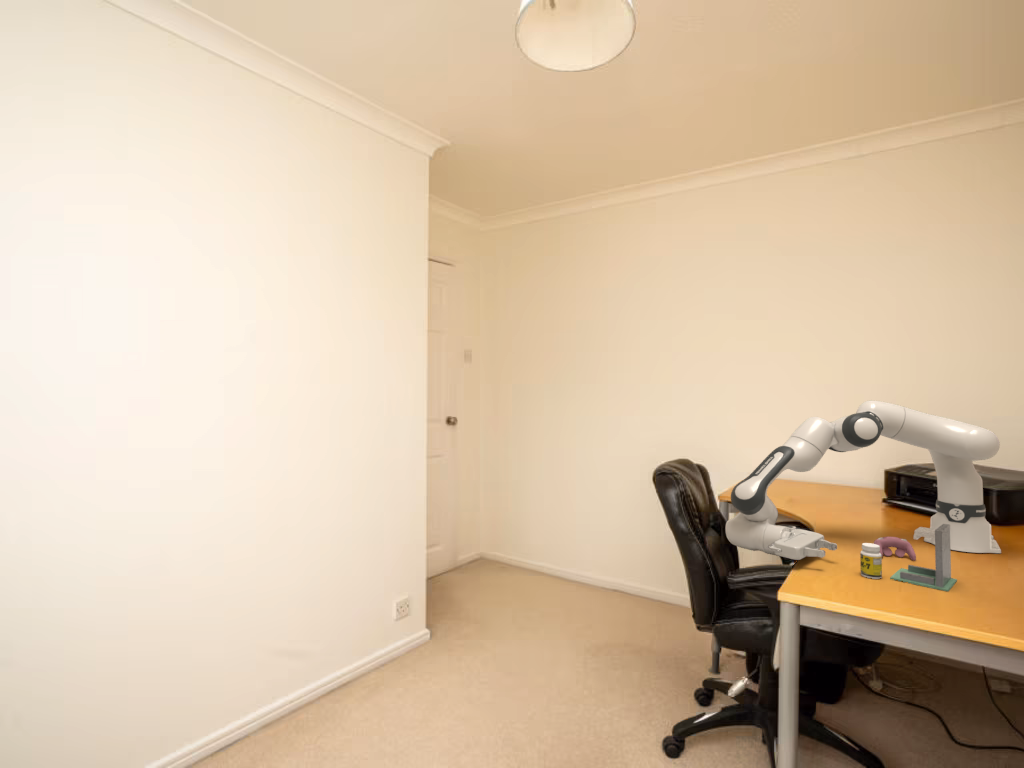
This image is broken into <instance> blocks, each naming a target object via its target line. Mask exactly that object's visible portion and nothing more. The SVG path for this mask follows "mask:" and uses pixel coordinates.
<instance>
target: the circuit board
mask: <svg viewBox="0 0 1024 768" xmlns="http://www.w3.org/2000/svg"><path fill="white" fill-rule="evenodd" d="M900 572H906V573H911V574H916V575H921V576H926V577H931V578H935V585H929V584H924V583H919V582H915V581H910V580H905V579H900ZM889 579H890V580H891V579H894V580H893V581H896V580H898V582H901V581H903V582H902V583H905V582H908V583H907V584H910V583H911V585H916V586H919V585H920V587H925V588H930V589H934V590H938V591H942V592H950V590H951V589H952V588H953V587H954V585H955V584H956V583H957V581H958V579H957V578H952V577H951V579H950V580H949V582H948V583H947V584H946V585H945V586H944V587H943V588H941V587H936V577H934V576H929V575H924V574H919V573H914V572H909V571H908V568H902V567H901V568H899V569H898V570H897V571H896V572H894V573H893V574H892V575H891V576H890V577H889Z"/></svg>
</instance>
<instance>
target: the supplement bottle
mask: <svg viewBox="0 0 1024 768" xmlns="http://www.w3.org/2000/svg"><path fill="white" fill-rule="evenodd" d="M861 549H862V550H861V551H860V553H859V555H860V556H859V557H860V559H859V560H860V575H861V576H862V577H863V578H866V577H867V579H870V578H872V579H871V580H880V578H881V579H882V578H883V560H882V559H883V557H882V555H881V553H879V552H880V546H879V545H876V544H874V543H870V542H863V543H861Z"/></svg>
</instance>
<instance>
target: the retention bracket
mask: <svg viewBox="0 0 1024 768" xmlns="http://www.w3.org/2000/svg"><path fill="white" fill-rule="evenodd" d="M921 537H923V538H925V537H928V538H934V539H935V545H934V550H935V551H934V555H935V557H934V558H935V559H934V560H935V569H933V568H928V567H922V566H917V565H912V564H908V565H907V569H908V571H909V572H914V573H919V574H924V575H929V576H934V577H936V587H941V588H943V587H944V586H945V585H946V584H947V583H948V582H949V580H950V579H951V578H952V564H951V563H952V561H951V560H952V559H951V558H952V556H951V549H950V525H949V524H942V525H941V526H940V527H938V528H937V529H932V528H930V527H925V526H924V527H923V526H919V527H918V528H916V529H915V530H914V534H913V540H917V541H918V540H919V539H921ZM900 579H905V580H910V581H915V582H919V583H924V584H929V585H935V578H931V577H926V576H921V575H916V574H911V573H906V572H900Z"/></svg>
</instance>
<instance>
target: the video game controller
mask: <svg viewBox="0 0 1024 768" xmlns="http://www.w3.org/2000/svg"><path fill="white" fill-rule="evenodd" d="M873 544H876V545H879V546H880V552H879V553H881V555H882V558H883V556H885V557H890V556H892V554H893V551H892V549H891V548H895V551H894V554H895V556H896V557H897V556H898V557H897V558H903V557H904V556H905V555H906V554H907V556H908V557H909V558H910V560H911V561H913V560H914V561H913V562H915V561H916V559H917V555H916V552H915V549H914V548H913V545H912V543H910V542H909V541H908V540H907V539H906V538H900V537H896V536H883V537H878V538H876V539H875V540H874V541H873Z"/></svg>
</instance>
